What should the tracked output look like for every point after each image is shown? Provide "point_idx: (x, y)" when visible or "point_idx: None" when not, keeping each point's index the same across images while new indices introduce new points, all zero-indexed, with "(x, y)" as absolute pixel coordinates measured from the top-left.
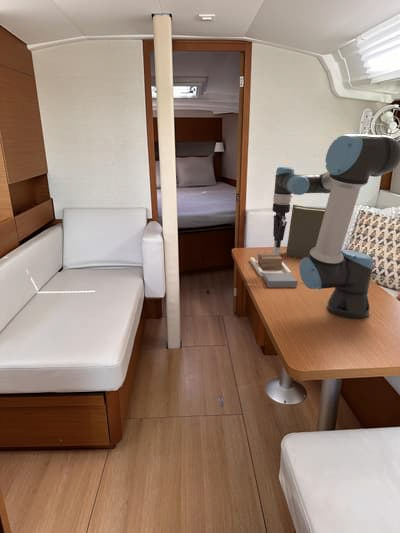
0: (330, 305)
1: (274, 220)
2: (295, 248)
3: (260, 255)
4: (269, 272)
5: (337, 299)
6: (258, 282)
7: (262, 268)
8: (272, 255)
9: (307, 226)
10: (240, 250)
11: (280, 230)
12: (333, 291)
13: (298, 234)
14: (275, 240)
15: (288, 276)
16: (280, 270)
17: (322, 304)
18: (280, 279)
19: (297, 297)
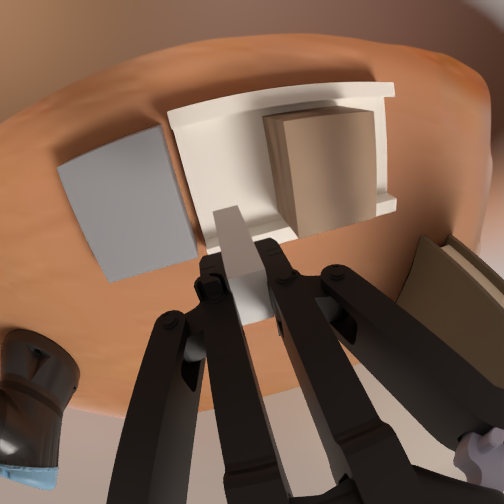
0: (8, 340)
1: (474, 415)
2: (434, 277)
3: (344, 117)
4: (236, 156)
5: (1, 364)
6: (113, 109)
7: (265, 122)
8: (348, 188)
9: (470, 358)
10: (477, 86)
11: (125, 449)
12: (20, 369)
13: (465, 314)
14: (199, 285)
15: (145, 250)
16: (273, 208)
17: (32, 322)
18: (94, 217)
19: (34, 267)
